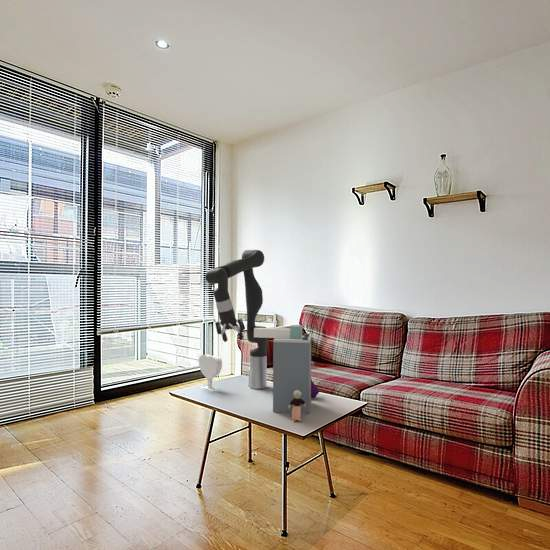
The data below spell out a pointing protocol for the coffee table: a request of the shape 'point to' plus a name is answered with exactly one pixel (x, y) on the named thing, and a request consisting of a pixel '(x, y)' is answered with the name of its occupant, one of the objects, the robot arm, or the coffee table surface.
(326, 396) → the coffee table surface
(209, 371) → the heart sculpture
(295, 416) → the grandmother figurine
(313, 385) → the perfume bottle
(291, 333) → the cartridge
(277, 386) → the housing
